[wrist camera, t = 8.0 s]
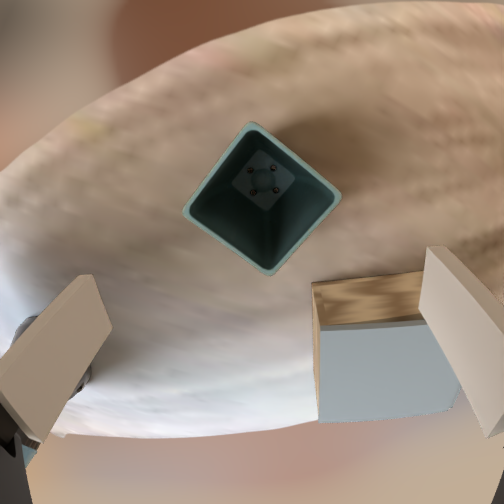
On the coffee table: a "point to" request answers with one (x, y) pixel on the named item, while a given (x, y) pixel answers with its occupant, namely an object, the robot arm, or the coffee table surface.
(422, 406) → the lid
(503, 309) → the robot arm
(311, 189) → the flower pot
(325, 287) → the crate
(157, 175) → the coffee table surface
